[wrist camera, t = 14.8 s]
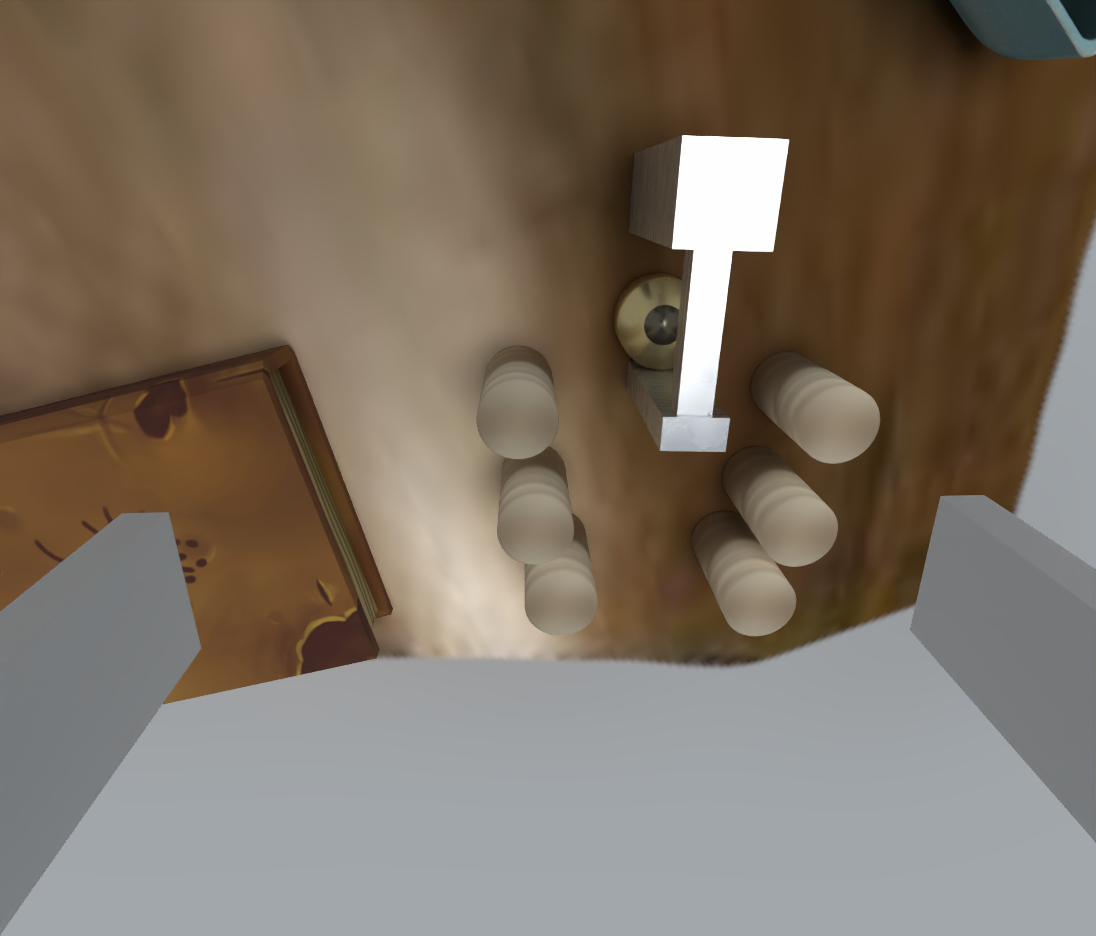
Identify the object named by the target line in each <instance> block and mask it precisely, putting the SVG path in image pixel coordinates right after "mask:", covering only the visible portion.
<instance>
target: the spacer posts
mask: <svg viewBox="0 0 1096 936" xmlns="http://www.w3.org/2000/svg"><path fill="white" fill-rule="evenodd" d="M750 392H751V397H752V399H753V401H754V403H755V405H756V406H757V407H758V408H759V409H760V410H761V411H762V412H763V413H764V414H765V415H766V416H768V417H769V418H770V419H771V420H772V421H773V422H774V423H775V424H776V425H777V426H778V427H780V428H781V429H782V430H783V431H784V432H785V433H786V434H787V435H788V436H789V437H790V438H792V439H793V440H794V441H795V442H796V443H797V444H798V445H799V446H800V447H801V448H802V449H804V450H805V451H806V452H807V453H808V454H809V455H810V456H811V457H813V458H814V459H816V460H818V461H821V462H825V463H842V462H846V461H849V460H851V459H853V458H855V457H857V456H858V455H860V454H861V453H863V452H864V451H865V450H866V449H867V448H868V447H869V446H870V444H871V443H872V442H873V440H874V438H875V437H876V434H877V432H878V429H879V424H880V414H879V409H878V406H877V404H876V402H875V401H874V399H873V398H872V397H871V396H870V395H869V394H867V393H866V392H864V391H863V390H861V389H859V388H857V387H856V386H854V385H852V384H851V383H849V382H847V381H845V380H844V379H842V378H840V377H839V376H837V375H835V374H833V373H832V372H830V371H828V370H826V369H825V368H823V367H821V366H820V365H818V364H816V363H814V362H813V361H811V360H809V359H808V358H806V357H804V356H802V355H801V354H798V353H794V352H781V353H777V354H774V355H772V356H770V357H768V358H767V359H765V360H764V361H763V362H762V363H761V364H760V365H759V366H758V367H757V369H756V370H755V372H754V374H753V377H752V379H751V385H750ZM558 424H559V416H558V410H557V403H556V397H555V391H554V384H553V378H552V372H551V369H550V366H549V364H548V362H547V361H546V359H545V358H544V357H543V356H542V355H541V354H540V353H538V352H537V351H535V350H533V349H531V348H528V347H523V346H514V347H509V348H506V349H504V350H502V351H500V352H499V353H498V354H496V355H495V356H494V357H493V358H492V360H491V361H490V363H489V365H488V367H487V370H486V374H485V379H484V384H483V389H482V393H481V398H480V403H479V407H478V412H477V427H478V431H479V434H480V436H481V438H482V440H483V441H484V443H485V444H486V445H487V446H488V447H489V448H490V449H491V450H492V451H494V452H495V453H497V454H499V455H501V456H503V457H506V459H505V461H504V463H503V467H502V476H501V489H500V502H499V514H498V527H497V534H498V539H499V542H500V544H501V546H502V548H503V549H504V551H505V552H506V553H507V554H508V555H509V556H511V557H512V558H514V559H515V560H517V561H519V562H522V563H525V611H526V614H527V617H528V619H529V620H530V622H531V623H532V624H533V625H534V626H535V627H536V628H538V629H539V630H541V631H543V632H545V633H548V634H551V635H570V634H573V633H576V632H578V631H580V630H582V629H584V628H585V627H586V626H587V625H588V624H589V623H590V622H591V621H592V620H593V618H594V617H595V614H596V612H597V608H598V599H597V593H596V588H595V582H594V577H593V571H592V566H591V560H590V555H589V549H588V544H587V538H586V533H585V528H584V526H583V524H582V522H581V521H580V519H579V518H578V517H576V516H575V515H574V514H572V511H571V504H570V498H569V491H568V485H567V478H566V471H565V465H564V462H563V460H562V458H561V457H560V455H559V454H558V453H557V452H556V451H555V450H554V449H552V448H551V447H549V445H550V444H551V442H552V441H553V439H554V437H555V435H556V433H557V429H558ZM722 484H723V488H724V490H725V492H726V493H727V495H728V496H729V498H730V499H731V501H732V502H733V504H734V505H735V507H736V508H737V510H738V511H739V513H740V514H741V515H739V514H737V513H734V512H731V511H719V512H714V513H712V514H709V515H707V516H706V517H704V518H703V519H702V520H701V521H700V522H699V523H698V524H697V525H696V527H695V528H694V530H693V533H692V537H691V545H692V549H693V551H694V553H695V555H696V557H697V559H698V561H699V564H700V566H701V568H702V570H703V572H704V574H705V576H706V578H707V580H708V582H709V585H710V587H711V589H712V591H713V593H714V595H715V597H716V599H717V601H718V604H719V606H720V608H721V610H722V612H723V614H724V616H725V618H726V620H727V622H728V624H729V625H730V626H731V627H732V628H733V629H734V630H735V631H737V632H739V633H741V634H744V635H748V636H762V635H767V634H770V633H772V632H775V631H777V630H778V629H780V628H781V627H782V626H784V625H785V624H786V623H787V622H788V621H789V619H790V618H791V616H792V615H793V613H794V610H795V606H796V596H795V592H794V590H793V588H792V587H791V585H790V584H789V582H788V581H787V579H786V578H785V576H784V575H783V573H782V572H781V570H780V569H779V568H778V566H777V565H776V563H775V562H774V561H776V562H777V563H779V564H782V565H785V566H793V567H795V566H804V565H807V564H810V563H813V562H815V561H817V560H818V559H820V558H821V557H822V556H824V555H825V554H826V553H827V552H828V551H829V550H830V548H831V547H832V545H833V544H834V542H835V539H836V536H837V531H838V524H837V519H836V517H835V515H834V513H833V511H832V510H831V509H830V508H829V507H828V506H827V505H826V504H825V503H824V502H823V501H822V500H821V499H820V498H819V497H818V496H817V495H816V494H815V492H814V491H813V490H812V489H811V488H810V487H809V486H808V485H807V484H806V483H805V482H804V481H803V480H802V479H801V478H800V477H799V476H798V475H797V474H796V473H795V472H794V471H793V470H792V469H791V468H790V467H789V466H788V465H787V464H786V463H785V462H784V461H783V460H782V459H781V458H780V456H779V455H778V454H777V453H775V452H774V451H773V450H771V449H769V448H766V447H761V446H753V447H748V448H745V449H742V450H740V451H739V452H737V453H736V454H734V455H733V456H732V457H731V458H730V459H729V460H728V462H727V463H726V465H725V467H724V470H723V473H722Z"/></svg>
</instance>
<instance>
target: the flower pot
mask: <svg viewBox="0 0 1096 936" xmlns="http://www.w3.org/2000/svg"><path fill="white" fill-rule="evenodd" d="M949 1H950V2H951V3H952V5H953V6H954V8H955V9H956V11H957V12H958V14H959V15H960V17H961V18H962V20H963V21H964V23H965V24H966V25H967V27H968V28H969V29H970V30H971V32H972V33H973V34H974V35H975V37H976V38H977V39H978V40H979V41H980V42H981V43H982V44H983V45H985V46H986V47H987V48H989V49H990V50H992V51H993V52H995V53H997V54H999V55H1002V56H1005V57H1008V58H1013V59H1056V58H1078V57H1090V56H1093V55H1095V54H1096V0H949Z"/></svg>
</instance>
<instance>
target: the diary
mask: <svg viewBox="0 0 1096 936" xmlns="http://www.w3.org/2000/svg"><path fill="white" fill-rule="evenodd" d="M157 512H169V516H170V520H171V524H172V529H173V533H174V537H175V541H176V545H177V549H178V553H179V558H180V562H181V566H182V570H183V574H184V578H185V583H186V587H187V591H188V595H189V599H190V603H191V607H192V612H193V616H194V620H195V624H196V628H197V632H198V636H199V641H200V645H201V650H200V651H199V653H198V654H197V655H196V657H195V658H194V660H193V661H192V663H191V664H190V665H189V667H188V668H187V670H186V671H185V672H184V674H183V675H182V677H181V678H180V680H179V681H178V682H177V684H176V685H175V687H174V688H173V690H172V691H171V692H170V694H169V695H168V697H167V698H166V700H165V701H164V702H163V704H166V703H171V702H175V701H180V700H185V699H190V698H194V697H199V696H203V695H208V694H213V693H217V692H222V691H226V690H231V689H236V688H241V687H245V686H250V685H254V684H259V683H264V682H269V681H273V680H278V679H283V678H287V677H292V676H296V675H301V674H306V673H311V672H315V671H320V670H325V669H329V668H334V667H338V666H343V665H348V664H352V663H357V662H362V661H366V660H371V659H376V658H377V655H378V652H379V647H378V644H377V642H376V639H375V637H374V634H373V632H372V629H371V627H372V625H373V622H374V619H375V618H377V617H382V616H386V615H391V613H392V610H393V608H392V606H391V603H390V600H389V598H388V595H387V593H386V590H385V587H384V585H383V582H382V579H381V577H380V574H379V572H378V569H377V566H376V564H375V561H374V559H373V556H372V553H371V551H370V548H369V546H368V543H367V540H366V538H365V535H364V532H363V530H362V527H361V525H360V522H359V519H358V517H357V514H356V512H355V509H354V506H353V504H352V501H351V499H350V496H349V493H348V491H347V488H346V485H345V483H344V480H343V478H342V475H341V472H340V470H339V467H338V465H337V462H336V459H335V457H334V454H333V452H332V449H331V446H330V444H329V441H328V438H327V436H326V433H325V431H324V428H323V425H322V423H321V420H320V418H319V415H318V412H317V410H316V407H315V405H314V402H313V399H312V397H311V394H310V391H309V389H308V386H307V384H306V381H305V378H304V376H303V373H302V371H301V368H300V365H299V363H298V360H297V358H296V355H295V353H294V352H293V351H292V350H291V349H290V348H289V347H288V346H287V345H286V346H282V347H278V348H274V349H270V350H266V351H262V352H258V353H254V354H250V355H246V356H242V357H238V358H234V359H229V360H225V361H221V362H217V363H213V364H209V365H205V366H201V367H197V368H193V369H189V370H185V371H181V372H177V373H173V374H169V375H165V376H161V377H157V378H153V379H149V380H145V381H141V382H137V383H133V384H129V385H125V386H121V387H117V388H113V389H109V390H105V391H101V392H97V393H93V394H89V395H85V396H81V397H77V398H72V399H68V400H64V401H60V402H56V403H52V404H48V405H44V406H40V407H36V408H32V409H28V410H24V411H20V412H16V413H12V414H8V415H4V416H0V611H1V610H3V609H4V608H5V607H6V606H8V605H9V604H10V603H11V602H13V601H14V600H15V599H16V598H18V597H19V596H20V595H21V594H23V593H24V592H25V591H26V590H27V589H29V588H30V587H31V586H32V585H34V584H35V583H36V582H37V581H39V580H40V579H41V578H42V577H44V576H45V575H46V574H47V573H49V572H50V571H51V570H52V569H54V568H55V567H56V566H57V565H58V564H60V563H61V562H62V561H63V560H65V559H66V558H67V557H68V556H70V555H71V554H72V553H73V552H75V551H76V550H77V549H78V548H80V547H81V546H82V545H83V544H85V543H86V542H87V541H88V540H89V539H91V538H92V537H93V536H94V535H96V534H97V533H98V532H99V531H101V530H102V529H103V528H104V527H106V526H107V525H108V524H109V523H111V522H112V521H113V520H114V519H115V518H117V517H118V516H119V515H120V514H122V513H157Z"/></svg>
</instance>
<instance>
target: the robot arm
mask: <svg viewBox="0 0 1096 936" xmlns="http://www.w3.org/2000/svg"><path fill="white" fill-rule="evenodd" d="M910 630H911V631H912V633H913V634H914V635H915V636H916V637H917V638H918V640H919V641H920V642H921V643H922V644H923V645H924V646H925V648H926V649H927V650H928V651H929V652H930V653H931V654H932V656H933V657H934V658H935V659H936V660H937V661H938V662H939V664H940V665H941V666H942V667H943V668H944V669H945V670H946V672H947V673H948V674H949V675H950V676H951V677H952V678H953V680H954V681H955V682H956V683H957V684H958V685H959V686H960V688H961V689H962V690H963V691H964V692H965V693H966V694H967V696H968V697H969V698H970V699H971V700H972V701H973V703H974V704H975V705H976V706H977V707H978V708H979V709H980V710H981V712H982V713H983V714H984V715H985V716H986V717H987V719H988V720H989V721H990V722H991V723H992V724H993V725H994V727H995V728H996V729H997V730H998V731H999V732H1000V733H1001V735H1002V736H1003V737H1004V738H1005V739H1006V740H1007V741H1008V742H1009V744H1010V745H1011V746H1012V747H1013V748H1014V749H1015V750H1016V752H1017V753H1018V754H1019V755H1020V756H1021V757H1022V759H1023V760H1024V761H1025V762H1026V763H1027V764H1028V765H1029V766H1030V768H1031V769H1032V770H1033V771H1034V772H1035V773H1036V775H1037V776H1038V777H1039V778H1040V779H1041V780H1042V781H1043V782H1044V784H1045V785H1046V786H1047V787H1048V788H1049V789H1050V791H1051V792H1052V793H1053V794H1054V795H1055V796H1056V797H1057V799H1058V800H1059V801H1060V802H1061V803H1062V804H1063V805H1064V807H1065V808H1066V809H1067V810H1068V811H1069V812H1070V813H1071V815H1072V816H1073V817H1074V818H1075V819H1076V820H1077V821H1078V823H1079V824H1080V825H1081V826H1082V827H1083V828H1084V829H1085V831H1086V832H1087V833H1088V834H1089V835H1090V836H1091V837H1092V839H1093V840H1094V841H1095V842H1096V569H1094V568H1093V567H1091V566H1090V565H1088V564H1087V563H1085V562H1084V561H1082V560H1081V559H1079V558H1078V557H1076V556H1075V555H1073V554H1072V553H1070V552H1069V551H1067V550H1066V549H1064V548H1063V547H1061V546H1060V545H1058V544H1057V543H1055V542H1054V541H1052V540H1051V539H1049V538H1048V537H1046V536H1045V535H1043V534H1042V533H1040V532H1039V531H1037V530H1035V529H1034V528H1033V527H1031V526H1030V525H1028V524H1027V523H1025V522H1024V521H1022V520H1021V519H1019V518H1018V517H1016V516H1015V515H1013V514H1012V513H1010V512H1009V511H1007V510H1006V509H1004V508H1003V507H1001V506H1000V505H998V504H997V503H995V502H994V501H992V500H991V499H989V498H988V497H986V496H985V495H970V496H941V497H940V501H939V506H938V510H937V514H936V519H935V523H934V527H933V532H932V536H931V540H930V545H929V549H928V553H927V558H926V562H925V567H924V571H923V575H922V580H921V584H920V588H919V593H918V597H917V601H916V606H915V610H914V615H913V619H912V624H911V628H910ZM200 650H201V645H200V641H199V636H198V632H197V628H196V624H195V620H194V616H193V612H192V607H191V603H190V599H189V595H188V591H187V587H186V583H185V578H184V574H183V570H182V566H181V562H180V558H179V553H178V549H177V545H176V541H175V537H174V533H173V529H172V524H171V520H170V516H169V512H157V513H122V514H120V515H119V516H118V517H117V518H115V519H114V520H113V521H112V522H111V523H109V524H108V525H107V526H106V527H104V528H103V529H102V530H101V531H99V532H98V533H97V534H96V535H94V536H93V537H92V538H91V539H89V540H88V541H87V542H86V543H85V544H83V545H82V546H81V547H80V548H78V549H77V550H76V551H75V552H73V553H72V554H71V555H70V556H68V557H67V558H66V559H65V560H63V561H62V562H61V563H60V564H58V565H57V566H56V567H55V568H54V569H52V570H51V571H50V572H49V573H47V574H46V575H45V576H44V577H42V578H41V579H40V580H39V581H37V582H36V583H35V584H34V585H32V586H31V587H30V588H29V589H27V590H26V591H25V592H24V593H23V594H21V595H20V596H19V597H18V598H16V599H15V600H14V601H13V602H11V603H10V604H9V605H8V606H6V607H5V608H4V609H3V610H1V611H0V934H1V933H2V932H3V930H4V929H5V927H6V926H7V924H8V923H9V922H10V920H11V919H12V917H13V916H14V915H15V913H16V912H17V910H18V909H19V907H20V906H21V904H22V903H23V902H24V900H25V898H26V897H27V896H28V894H29V893H30V892H31V890H32V889H33V887H34V886H35V885H36V883H37V882H38V880H39V879H40V877H41V876H42V875H43V873H44V872H45V870H46V869H47V868H48V866H49V865H50V863H51V862H52V860H53V859H54V858H55V856H56V855H57V853H58V852H59V850H60V849H61V847H62V846H63V845H64V843H65V842H66V840H67V839H68V838H69V836H70V835H71V833H72V832H73V830H74V829H75V828H76V826H77V825H78V823H79V822H80V821H81V819H82V818H83V816H84V815H85V813H86V812H87V811H88V809H89V808H90V806H91V805H92V803H93V802H94V801H95V799H96V798H97V796H98V795H99V793H100V792H101V791H102V789H103V788H104V786H105V785H106V783H107V782H108V781H109V779H110V778H111V776H112V775H113V773H114V772H115V770H116V769H117V768H118V766H119V765H120V763H121V762H122V761H123V759H124V758H125V756H126V755H127V754H128V752H129V751H130V749H131V748H132V746H133V745H134V743H135V742H136V741H137V739H138V738H139V737H140V735H141V734H142V732H143V731H144V729H145V728H146V726H147V725H148V723H149V722H150V721H151V719H152V718H153V716H154V715H155V714H156V712H157V711H158V709H159V708H160V707H161V705H162V704H163V702H164V701H165V700H166V698H167V697H168V695H169V694H170V692H171V691H172V690H173V688H174V687H175V685H176V684H177V682H178V681H179V680H180V678H181V677H182V675H183V674H184V672H185V671H186V670H187V668H188V667H189V665H190V664H191V663H192V661H193V660H194V658H195V657H196V655H197V654H198V653H199V651H200Z"/></svg>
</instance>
